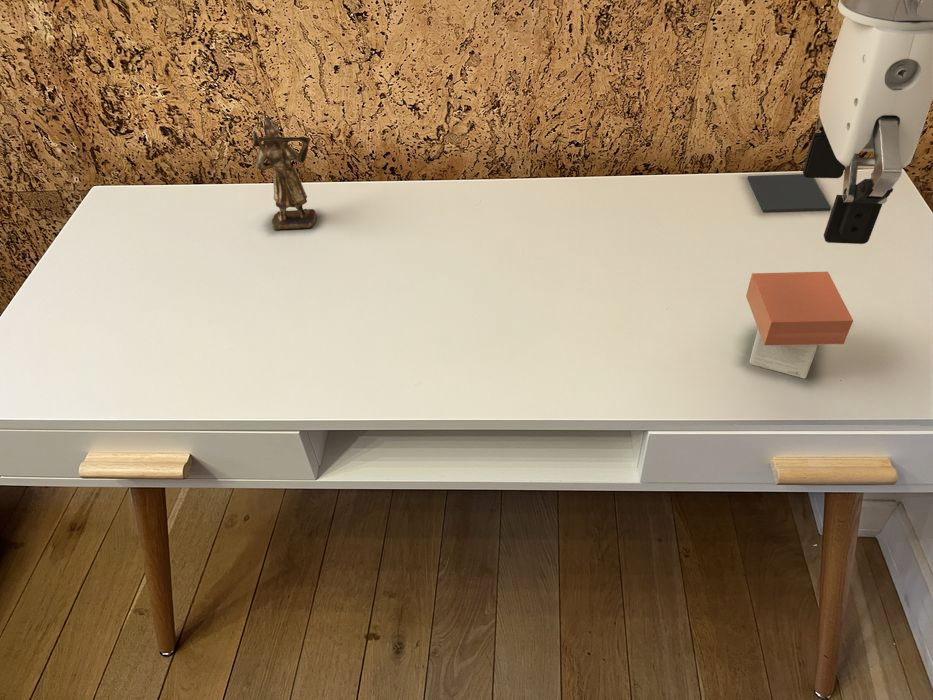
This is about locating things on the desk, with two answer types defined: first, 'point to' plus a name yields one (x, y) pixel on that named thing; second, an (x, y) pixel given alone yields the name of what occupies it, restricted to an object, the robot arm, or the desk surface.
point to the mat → (788, 193)
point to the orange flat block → (798, 308)
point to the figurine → (284, 176)
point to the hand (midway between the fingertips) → (832, 207)
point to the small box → (783, 357)
